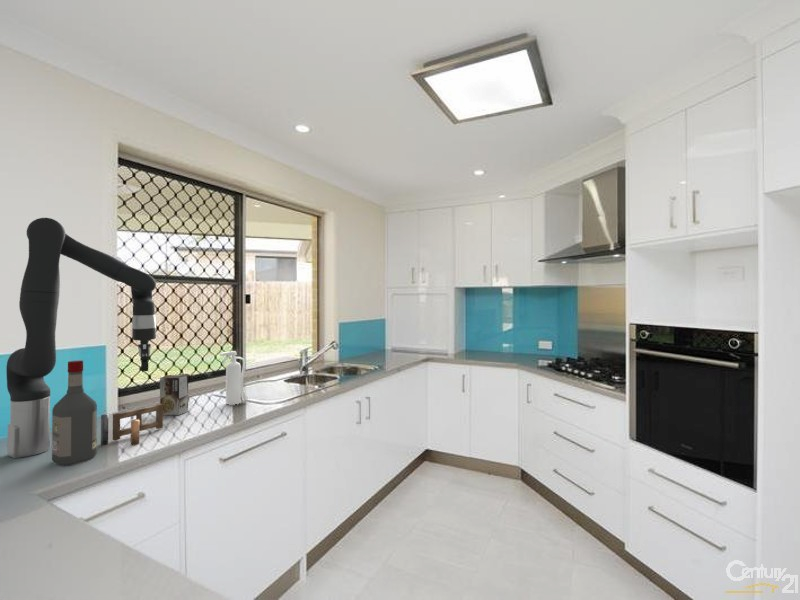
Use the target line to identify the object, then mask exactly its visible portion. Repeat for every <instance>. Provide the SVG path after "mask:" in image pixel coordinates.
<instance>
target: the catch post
mask: <svg viewBox="0 0 800 600" xmlns="http://www.w3.org/2000/svg"><path fill="white" fill-rule="evenodd" d="M130 427H131V434H130V445H131V446H137V445H139V444H140V431H139V419H136V418H135V419H132V420H130Z"/></svg>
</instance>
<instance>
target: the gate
mask: <svg viewBox="0 0 800 600" xmlns="http://www.w3.org/2000/svg"><path fill="white" fill-rule="evenodd" d="M152 412H153V413H154V412H155V420H154V421H150V422H146V423H143V424H142V422H143V421H142V418H143V417H142V415H144V414H147V413H148V414H150V413H152ZM134 416H135V419H139V432H143V431H147V430H149V429H153V428H155V429H157V430H160V429H163V427H164V425H163V424H164V423H163V422H164V421H163V420H164V415H163V404H160V403H158V404H157V403H156V404H155V405H150V406H145V407H140V408H136V409H132V410H131V409H130V410H127V411H122V412H116V413H115V412H114V413H112V440H113V441H119V440H121V437H124V436H127V435H131V426H130V427H126V428H123V429H121V420H122V419H126V418H131V417H134Z"/></svg>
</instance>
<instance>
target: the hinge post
mask: <svg viewBox="0 0 800 600" xmlns="http://www.w3.org/2000/svg"><path fill="white" fill-rule="evenodd" d="M108 444H109V413H102V414H101V415H100V446H106V445H108Z"/></svg>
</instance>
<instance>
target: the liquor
mask: <svg viewBox="0 0 800 600" xmlns="http://www.w3.org/2000/svg"><path fill="white" fill-rule="evenodd" d="M83 371H84V360H71V361H67V373H68V374H67V375H68V377H67V378H68V379H67V390H66V393H65V395H63V397H61V399H59V400H58V401H57V402H56V404H54V406H53V407H52V410H51V413H52V414H51V415H52V416H51V418H52V419H51V421H52V422H51V424H52V425H51V429H52V430H51V460H52V462H53V463H54V464H56V465H58V466H60V467H65V466H67V467H68V466H73V465H76V464H80V463H83V462H86V461H90V460H92V459H93V458H94V457H95V456H96V454H97V451H98V450H97V446H98V445H97V441H98V440H97V439H98V438H97V433H98V431H97V427H98V422H97V421H98V405H97V404H98V403H97V402H96V400H95V399H93V397H90V396H89V395H88V394H87V393H86V392H85V390H84V386H83V384H84V383H83V382H84V381H83V379H84V378H83V373H84V372H83Z"/></svg>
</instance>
